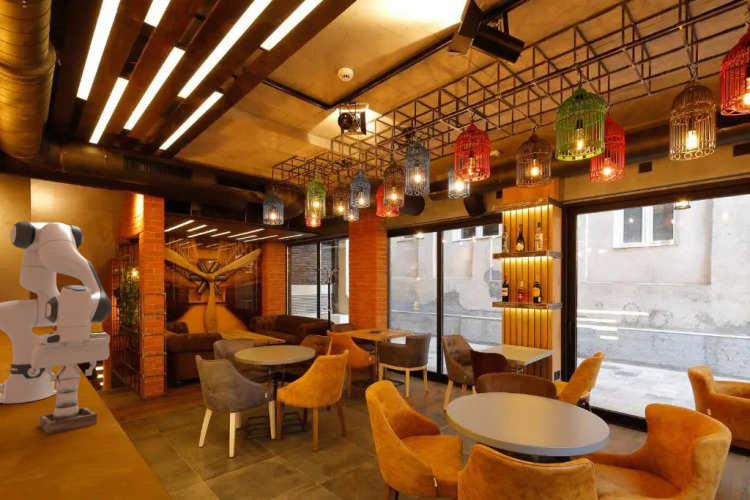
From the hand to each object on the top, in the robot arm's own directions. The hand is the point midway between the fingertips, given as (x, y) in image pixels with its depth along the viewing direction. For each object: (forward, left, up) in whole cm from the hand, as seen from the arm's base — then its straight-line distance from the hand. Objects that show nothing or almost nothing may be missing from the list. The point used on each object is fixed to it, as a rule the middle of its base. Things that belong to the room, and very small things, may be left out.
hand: (71, 378), depth 126 cm
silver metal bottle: (0, -1, -14) cm, 14 cm away
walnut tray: (0, 0, -15) cm, 15 cm away
